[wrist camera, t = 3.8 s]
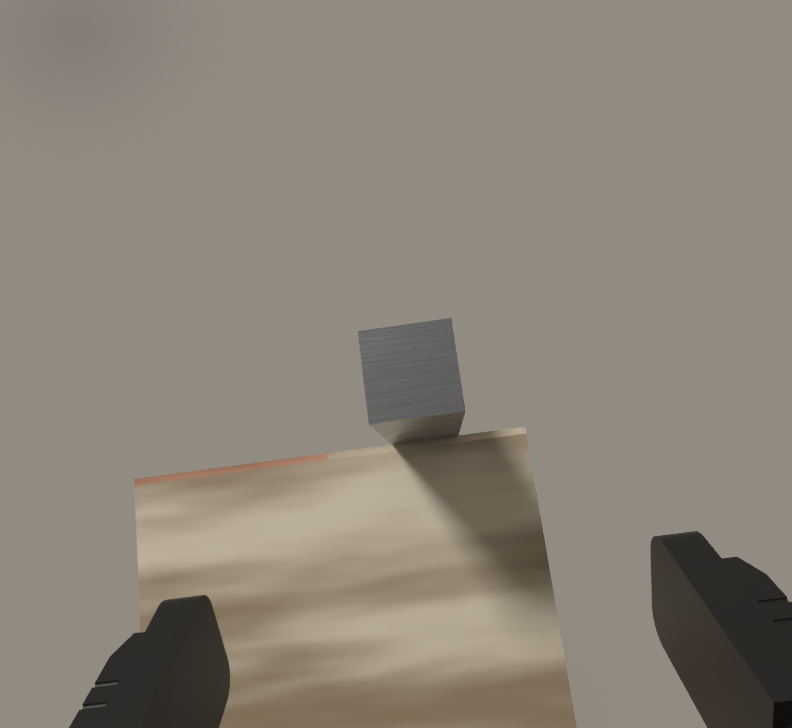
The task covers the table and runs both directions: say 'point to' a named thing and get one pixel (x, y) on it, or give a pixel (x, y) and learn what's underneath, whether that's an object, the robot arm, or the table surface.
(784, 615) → the robot arm
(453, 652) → the zigzag patterned pillar
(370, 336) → the metal block
